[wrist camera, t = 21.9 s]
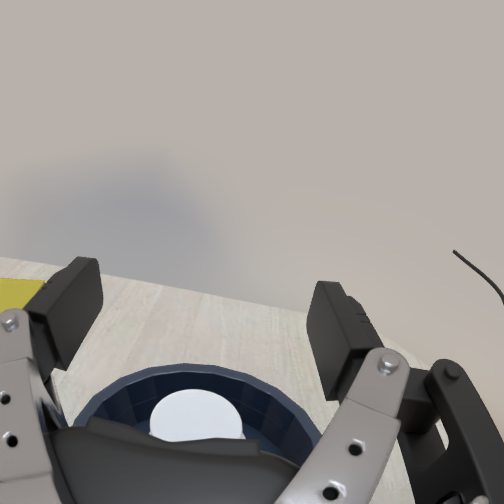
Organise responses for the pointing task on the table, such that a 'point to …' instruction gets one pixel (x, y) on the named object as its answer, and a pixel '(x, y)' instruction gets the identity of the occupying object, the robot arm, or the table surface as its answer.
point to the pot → (223, 384)
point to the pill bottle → (195, 417)
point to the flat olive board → (17, 292)
